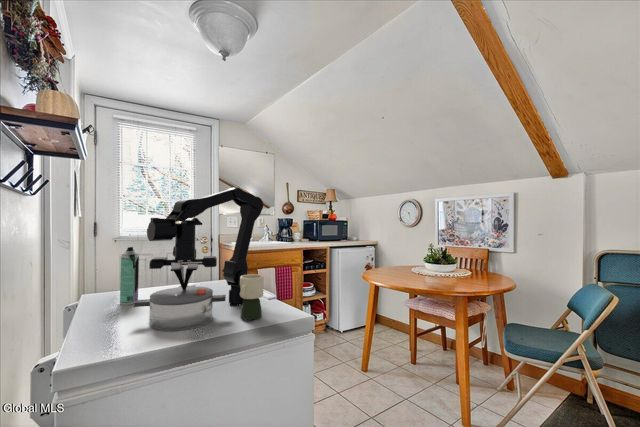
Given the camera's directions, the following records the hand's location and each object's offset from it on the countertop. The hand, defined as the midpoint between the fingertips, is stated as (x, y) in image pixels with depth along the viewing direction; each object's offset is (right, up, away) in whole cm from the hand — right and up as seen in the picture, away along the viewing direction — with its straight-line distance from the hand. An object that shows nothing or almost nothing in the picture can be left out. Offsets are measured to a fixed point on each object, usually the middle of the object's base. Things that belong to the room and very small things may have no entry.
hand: (184, 290), depth 94 cm
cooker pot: (+1, -8, -4) cm, 9 cm away
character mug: (+21, -9, -1) cm, 23 cm away
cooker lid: (+1, -1, -3) cm, 3 cm away
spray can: (-26, -8, +14) cm, 31 cm away
